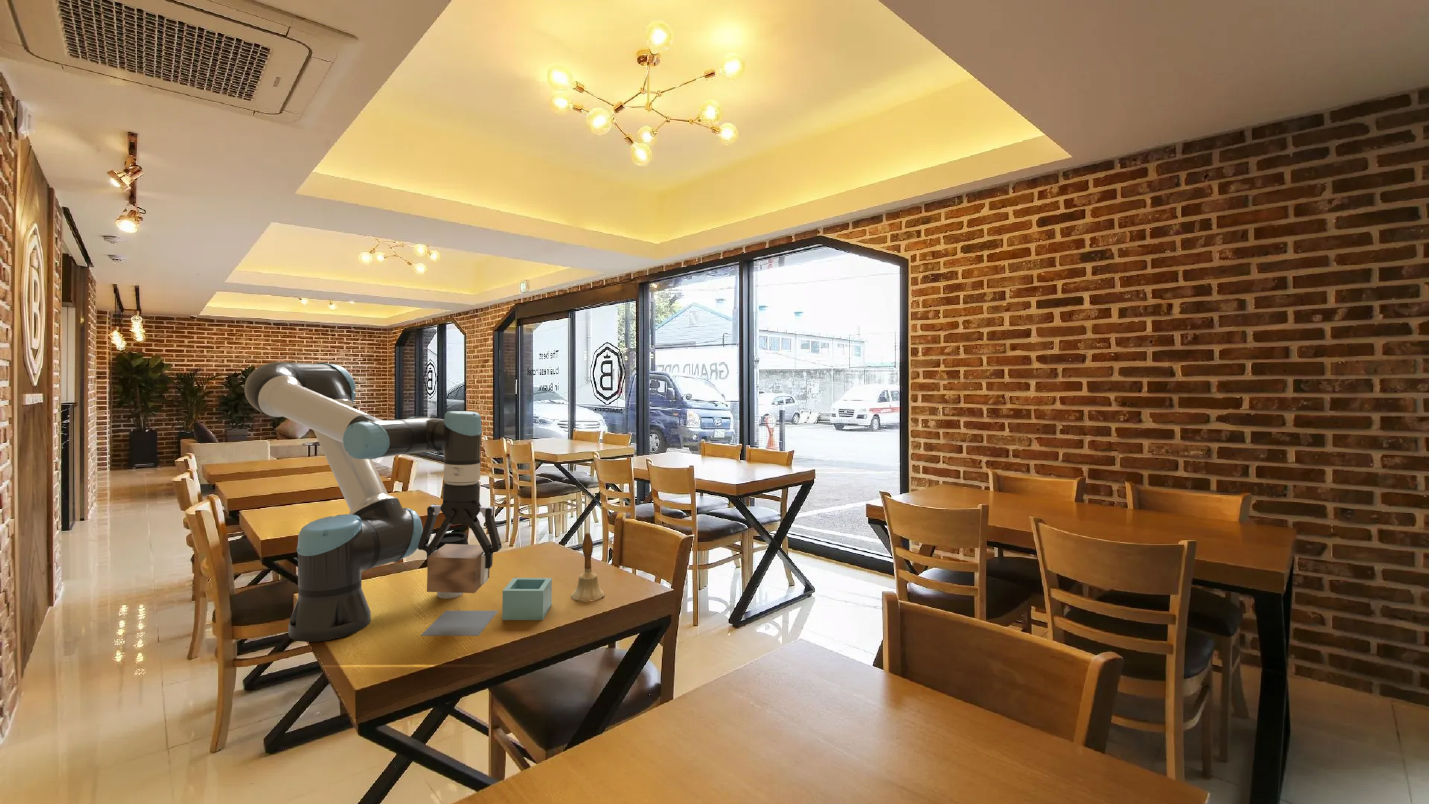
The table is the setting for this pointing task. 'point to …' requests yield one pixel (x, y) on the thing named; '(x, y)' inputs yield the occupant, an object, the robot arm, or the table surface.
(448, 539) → the coffee cup
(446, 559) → the brown wooden block
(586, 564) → the hand bell
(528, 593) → the mint square pot
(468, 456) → the robot arm
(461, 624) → the mat
